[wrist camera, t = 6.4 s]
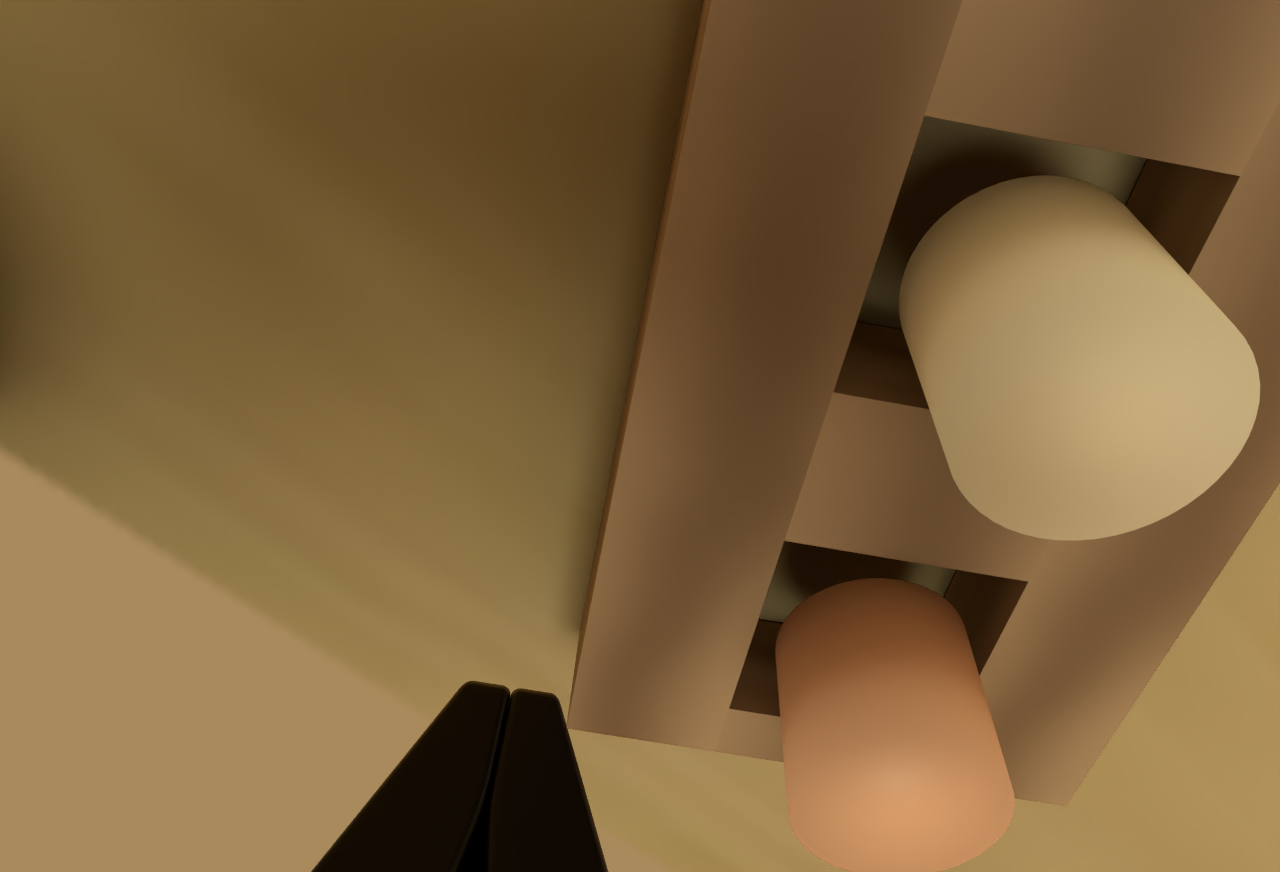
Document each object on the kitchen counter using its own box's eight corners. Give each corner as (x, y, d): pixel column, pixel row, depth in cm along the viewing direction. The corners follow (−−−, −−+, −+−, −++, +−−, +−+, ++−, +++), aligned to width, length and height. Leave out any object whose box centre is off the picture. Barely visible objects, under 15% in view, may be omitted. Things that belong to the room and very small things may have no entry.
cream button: (868, 373, 18) (905, 514, 15) (945, 153, 16) (1009, 263, 12) (1087, 412, 18) (1172, 561, 15) (1193, 201, 16) (1322, 320, 13)
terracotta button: (755, 697, 23) (764, 859, 19) (802, 563, 20) (821, 721, 17) (930, 725, 23) (968, 890, 20) (995, 596, 21) (1050, 757, 17)
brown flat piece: (579, 635, 26) (565, 728, 24) (868, -847, 12) (909, -997, 10) (1032, 708, 27) (1066, 806, 24) (1801, -620, 13) (2064, -707, 10)
